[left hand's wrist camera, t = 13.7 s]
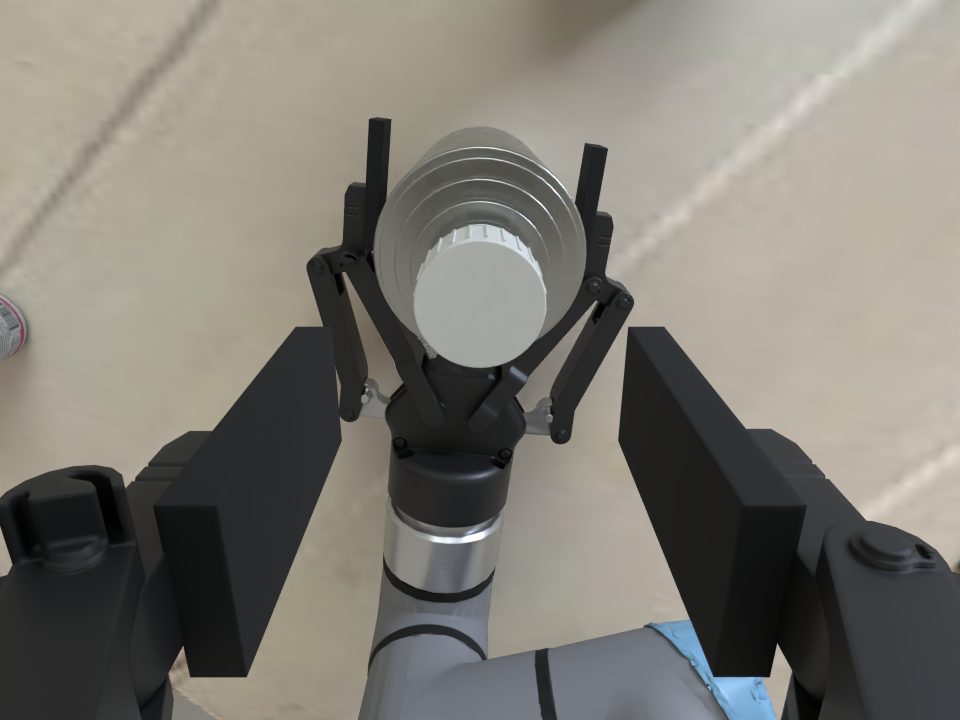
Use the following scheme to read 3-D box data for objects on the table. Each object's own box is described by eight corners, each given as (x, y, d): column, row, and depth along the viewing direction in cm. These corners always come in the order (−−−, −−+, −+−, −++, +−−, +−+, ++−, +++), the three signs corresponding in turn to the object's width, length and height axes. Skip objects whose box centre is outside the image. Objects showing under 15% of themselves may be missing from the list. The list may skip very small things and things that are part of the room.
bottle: (503, 98, 39) (530, 101, 18) (570, 220, 41) (663, 345, 21) (386, 174, 40) (287, 258, 20) (458, 287, 43) (438, 466, 22)
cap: (501, 199, 21) (504, 212, 19) (562, 304, 22) (572, 328, 20) (395, 265, 22) (384, 284, 19) (460, 362, 23) (458, 392, 21)
